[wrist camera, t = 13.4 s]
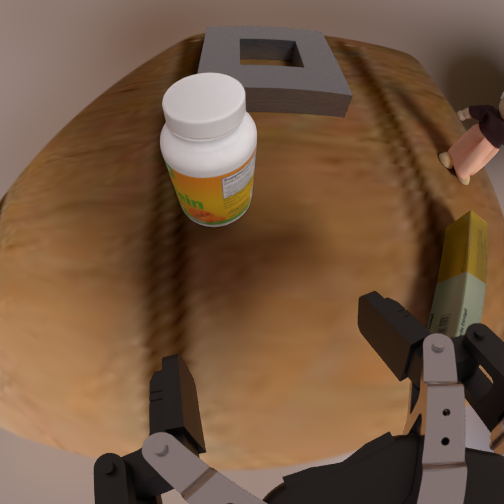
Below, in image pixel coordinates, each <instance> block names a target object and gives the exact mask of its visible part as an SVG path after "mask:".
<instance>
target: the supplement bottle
mask: <svg viewBox="0 0 504 504" xmlns="http://www.w3.org/2000/svg"><path fill="white" fill-rule="evenodd" d="M162 106H163V111H164V116H165V120H166V123H165V125H164V126H163V129H162V131H161V135H160V148H161V151H162V155H163V158H164V161H165V163H166V166H167V169H168V172H169V175H170V177H171V180H172V183H173V186H174V189H175V192H176V194H177V197H178V200H179V202H180V205H181V207H182V209H183V211H184V213H185V214H186V215H187V216H188V217H189V218H190V219H191V220H192V221H194V222H196V223H198V224H200V225H203V226H208V227H220V226H225V225H228V224H230V223H232V222H234V221H236V220H237V219H239V218H240V217H241V216H242V215H243V214H244V213H245V212H246V210H247V209H248V207H249V205H250V202H251V199H252V193H253V180H254V168H255V156H256V145H257V130H256V126H255V123H254V121H253V119H252V118H251V116H250V115H249V114H248V113H247V112H246V99H245V90H244V88H243V86H242V85H241V83H240V82H239V81H237V80H236V79H234V78H232V77H230V76H228V75H224V74H220V73H200V74H195V75H191V76H188V77H185V78H183V79H181V80H179V81H177V82H176V83H174V84H173V85H172V86H171V87H170V88H169V89H168V90H167V91H166V93H165V95H164V97H163V101H162Z"/></svg>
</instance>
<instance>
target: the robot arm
mask: <svg viewBox="0 0 504 504" xmlns="http://www.w3.org/2000/svg"><path fill="white" fill-rule="evenodd" d="M358 327H359V330H360V332H361V334H362V335H363V336H364V338H365V339H366V340H367V341H368V342H369V344H370V345H371V346H372V347H373V349H374V350H375V351H376V352H377V353H378V355H379V356H380V357H381V358H382V360H383V361H384V362H385V363H386V365H387V366H388V367H389V368H390V370H391V371H392V372H393V373H394V375H395V376H396V377H397V378H398V380H399V381H402V380H404V379H405V378H407V377H409V379H410V380H411V382H410V389H409V403H408V414H407V421H406V424H405V427H404V431H403V435H397V436H392V435H391V433H390V432H387V433H386V434H384V435H382V436H380V437H378V438H376V439H374V440H372V441H370V442H368V443H366V444H365V445H364V446H362V447H361V448H360V449H359V450H357V451H356V452H355V453H354V454H352V455H351V456H350V457H348V458H347V459H346V460H344V461H343V462H340V463H336V464H330V465H324V466H319V467H311V468H308V469H305V470H302V471H300V472H297V473H294V474H291V475H288V476H284V477H283V480H284V482H283V483H282V484H280V485H278V486H277V487H275V488H274V489H273V490H272V491H270V492H269V493H268V494H267V495H266V496H265V498H264V499H263V500H261V499H259V498H257V497H256V496H254V495H252V494H251V493H249V492H248V491H246V490H244V489H243V488H241V487H240V486H238V485H237V484H235V483H234V482H232V481H231V480H230V479H228V478H227V477H225V476H224V475H222V474H221V473H220V472H218V471H217V470H215V469H213V468H211V467H210V466H208V465H207V464H206V463H205V462H203V461H202V460H201V459H199V454H200V453H205V452H206V448H205V443H204V437H203V431H202V425H201V419H200V412H199V406H198V399H197V392H196V386H195V382H194V379H193V377H192V375H191V373H190V371H189V369H188V367H187V366H186V364H185V362H184V360H183V358H182V356H181V355H180V354H175V355H171V356H167V357H163V358H162V370H161V371H156V372H154V374H153V376H152V378H151V380H150V394H149V401H150V403H149V422H150V434H149V437H148V438H147V439H146V440H145V441H144V443H143V446H142V448H141V449H139V450H137V451H135V452H133V453H130V454H128V455H126V456H123V457H120V456H119V455H117V454H114V453H106V454H103V455H102V456H100V457H99V458H98V459H97V461H96V462H95V465H94V494H95V504H162V499H161V494H162V493H165V492H168V491H170V490H172V489H176V490H177V491H178V492H179V493H180V494H181V495H182V497H183V498H184V499H185V500H186V501H187V502H188V503H189V504H504V342H503V341H502V340H501V339H500V338H499V337H498V336H497V335H496V334H495V333H494V332H493V331H491V330H490V329H489V328H488V327H487V326H486V325H484V324H481V323H473V324H471V325H469V326H468V327H467V329H466V332H465V335H461V336H457V337H454V338H449V337H447V336H446V335H443V334H438V333H436V334H432V333H430V332H429V331H428V330H427V329H426V328H425V327H424V326H423V325H422V324H421V323H420V322H419V321H418V320H417V319H416V318H415V317H414V316H412V315H410V313H409V312H408V311H407V310H405V308H404V307H403V306H402V305H400V304H399V303H398V302H397V301H395V300H392V299H390V298H388V297H387V298H385V299H384V298H383V297H382V296H381V295H380V294H379V293H378V292H376V291H373V292H370V293H368V294H365V295H363V296H361V297H360V298H359V305H358ZM479 365H481V366H482V367H483V368H484V369H485V370H486V372H487V373H488V374H489V375H490V376H491V377H492V380H493V383H492V382H491V381H490V380H489V379H488V377H487V376H486V375H485V374H484V373H483V372H482V371H481V369H480V368H479ZM465 399H466V400H467V401H468V402H469V404H470V405H471V406H472V408H473V409H474V410H475V412H476V413H477V414H478V416H479V417H480V418H481V420H482V421H483V423H484V424H485V425H486V426H487V428H488V430H489V431H490V432H491V436H490V439H491V442H490V445H489V446H490V449H491V450H493V451H494V453H492V452H486V451H481V450H476V449H471V448H466V447H465Z"/></svg>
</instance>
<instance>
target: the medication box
mask: <svg viewBox="0 0 504 504" xmlns="http://www.w3.org/2000/svg"><path fill="white" fill-rule="evenodd" d="M487 261H488V224H487V223H486V222H485V221H484V220H483V219H482V218H480V217H479V216H478V215H476V214H475V213H474V212H472V211H469V212H468V213H466V214H465V215H463V216H462V217H460V218H459V219H458V220H456V221H455V222H453V223H452V224H450V225H449V226H447V227H446V228H445V234H444V242H443V249H442V256H441V262H440V268H439V274H438V280H437V285H436V289H435V294H434V299H433V303H432V307H431V312H430V316H429V320H428V323H427V327H426V329H427V330H428V331H429V332H430V333H432V334H436V333H438V334H443V335H446V336H447V337H449V338H454V337H457V336H461V335H465V332H466V329H467V327H468V326H469V325H471V324H473V323H481V317H482V311H483V304H484V296H485V287H486V276H487Z"/></svg>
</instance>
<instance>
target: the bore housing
mask: <svg viewBox="0 0 504 504" xmlns="http://www.w3.org/2000/svg"><path fill="white" fill-rule="evenodd" d="M240 59H271V60H289V61H292V62H293V66H294V67H289V66H272V65H240ZM200 73H220V74H224V75H228V76H230V77H232V78H234V79H236V80H237V81H239V82H240V83H241V85H242V86H243V88H244V90H245V99H246V112H284V113H302V114H316V115H327V116H337V117H345V114H346V112H347V109H348V106H349V104H350V101H351V99H352V96H353V95H352V93H351V90H350V88H349V86H348V84H347V81H346V79H345V77H344V75H343V73H342V71H341V69H340V67H339V65H338V63H337V61H336V59H335V57H334V55H333V53H332V51H331V49H330V47H329V45H328V43H327V41H326V40H325V38H324V36H323V34H322V32H319V31H310V30H303V29H293V28H279V27H261V26H227V27H226V26H225V27H207V30H206V35H205V39H204V44H203V48H202V53H201V58H200V63H199V68H198V73H197V74H200Z"/></svg>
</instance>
